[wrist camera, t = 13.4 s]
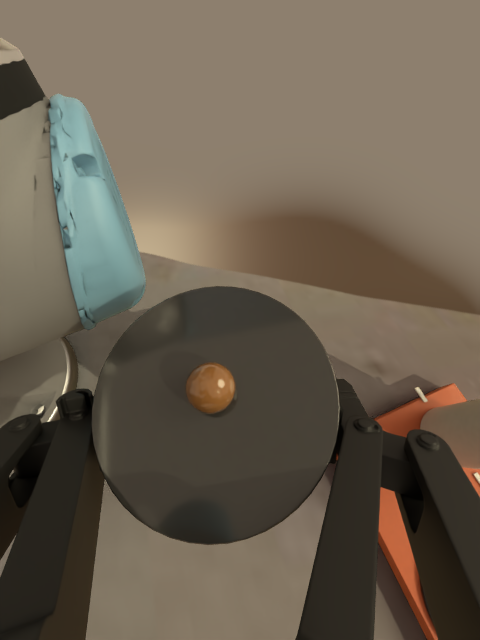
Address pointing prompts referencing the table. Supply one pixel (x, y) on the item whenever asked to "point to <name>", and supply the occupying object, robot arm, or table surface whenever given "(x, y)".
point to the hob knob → (457, 430)
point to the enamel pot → (215, 415)
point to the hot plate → (390, 517)
